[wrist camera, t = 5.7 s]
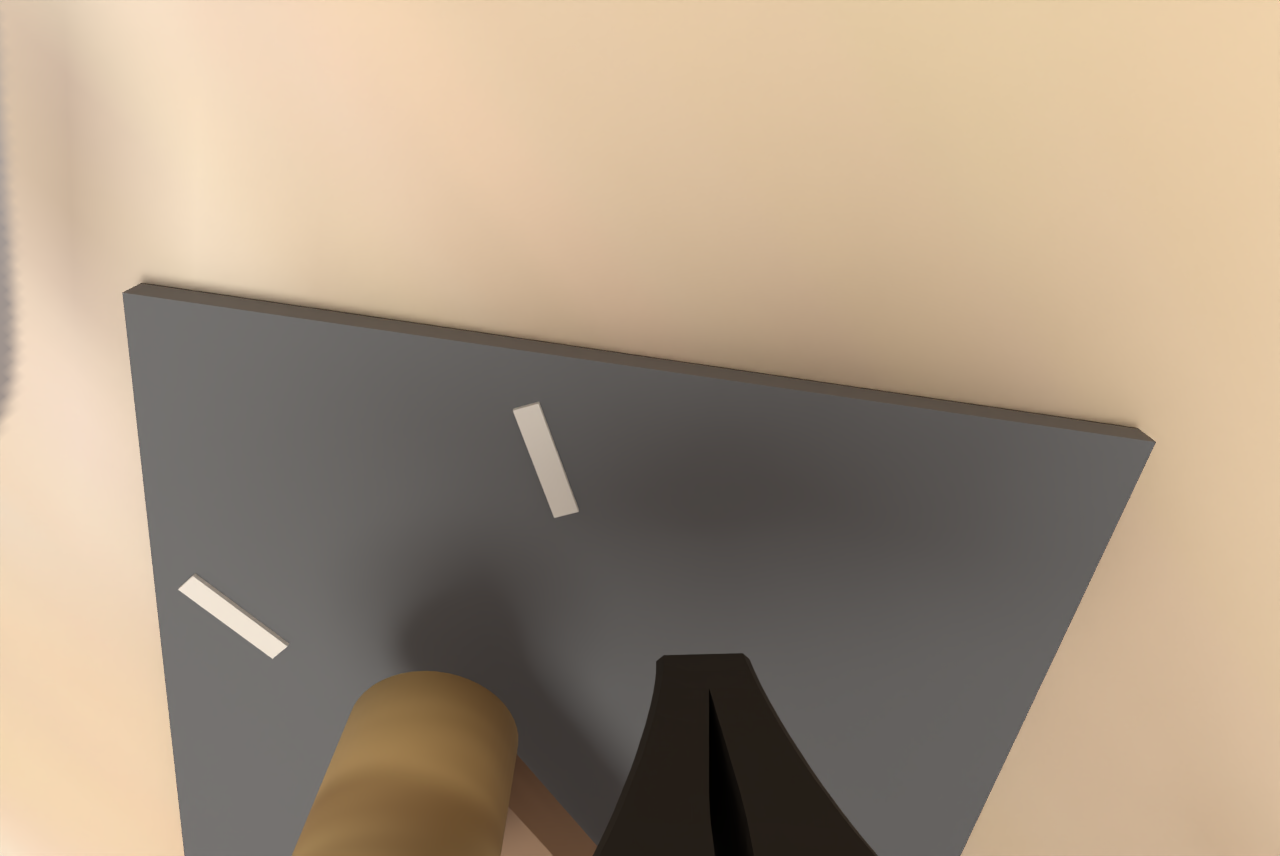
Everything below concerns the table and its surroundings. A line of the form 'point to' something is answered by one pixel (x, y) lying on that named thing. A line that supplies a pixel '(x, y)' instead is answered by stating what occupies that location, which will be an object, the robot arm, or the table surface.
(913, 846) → the plate
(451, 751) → the lever
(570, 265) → the table surface
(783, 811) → the robot arm
